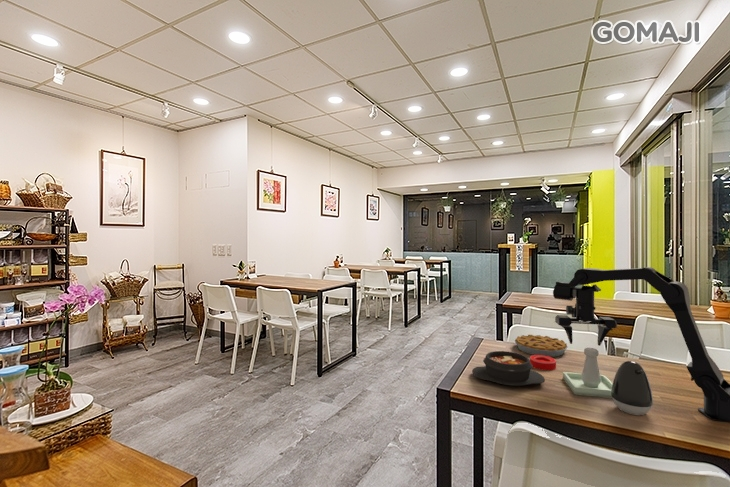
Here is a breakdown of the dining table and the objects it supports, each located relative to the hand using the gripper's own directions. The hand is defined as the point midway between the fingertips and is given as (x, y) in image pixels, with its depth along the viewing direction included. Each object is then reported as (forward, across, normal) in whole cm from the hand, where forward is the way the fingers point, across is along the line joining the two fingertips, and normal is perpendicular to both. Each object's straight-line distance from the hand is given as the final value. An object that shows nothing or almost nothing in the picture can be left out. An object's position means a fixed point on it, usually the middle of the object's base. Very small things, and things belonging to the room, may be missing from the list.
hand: (584, 344), depth 132 cm
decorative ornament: (+13, +12, -11) cm, 21 cm away
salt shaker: (+12, +1, +8) cm, 15 cm away
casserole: (+13, +28, +7) cm, 31 cm away
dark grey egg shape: (+13, -5, +23) cm, 27 cm away
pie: (+13, +8, -33) cm, 36 cm away
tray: (+13, +1, +8) cm, 15 cm away
